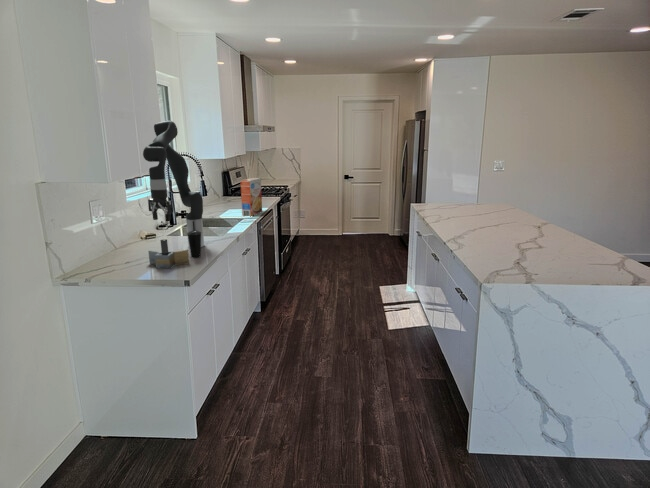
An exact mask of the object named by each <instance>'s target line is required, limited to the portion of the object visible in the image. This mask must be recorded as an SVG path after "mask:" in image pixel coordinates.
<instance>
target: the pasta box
mask: <svg viewBox="0 0 650 488" xmlns="http://www.w3.org/2000/svg"><path fill="white" fill-rule="evenodd" d="M240 194H241V195H240V196H241V198H240V199H241V216H250V217H249V218H252V217H251V216H253V215H255V216H257V215H259V214H261V213H260V212H262V213H263V200H262V199H263V197H262V178H261V177H250V178H247V179H246V178H244V179H242V180H240ZM258 213H259V214H258ZM256 214H257V215H256ZM253 217H254V216H253Z"/></svg>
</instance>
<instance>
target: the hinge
mask: <svg viewBox="0 0 650 488" xmlns="http://www.w3.org/2000/svg"><path fill="white" fill-rule="evenodd" d="M147 252H148V259H149V260H148V261H149V265H155V266H156V267H155V268H156V269H167V270H169V269H172V268H173V267H174V266H177V265H179V266H180V265H184V264H189V263H190V255H189V249H185V250H184V249H183V250H177V251H169V250H168V255H162V251H156V250H148V251H147Z"/></svg>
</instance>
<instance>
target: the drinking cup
mask: <svg viewBox="0 0 650 488" xmlns="http://www.w3.org/2000/svg"><path fill="white" fill-rule="evenodd" d="M186 235H187V241H188V240H189V245H190V247H189V250H190V255H191V258H192V259H194V258H195V259H197V258H200V257H201V253H202V251H201V250H202V249H201V248H202V247H201V232H199V231H196V230H195V228H194V221H193V231H190V232H188V233H187V232H186Z"/></svg>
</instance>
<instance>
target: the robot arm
mask: <svg viewBox="0 0 650 488" xmlns="http://www.w3.org/2000/svg"><path fill="white" fill-rule="evenodd" d="M153 129H154V130H153V131H154V134H155V136H156V137H154V139H153V140H152V142H151V143H149V144H147V146H145V147H144V149H143V153H142V156H143V159H144V160H145V161H147V162H149V163H151V162H152V163H154V162H155V163H156V162H157V163H158V165H155V166H151V167H149V170H148V174H149V186H150V187H149V188H150V196H151V198H150V199H148V200H147V203H148V204H147V205H148V211H149V212H151V213H152V220H153V221H157V220H158V219H159V218H158V210H159V209H160V210H162V211H163V212H164V214H165V217H164V218H165V222H171V214H172V213H174V207H173V201H172V200H168V199H167V198H168V189H167V186H168V185H167V181H166V174H165V173H166V171H165V167H166V162H167V163H168V166H169V169H170V172H171V174H172V176H173V178H174V181H175V183H176V187H177V189H178V193H179V197H180V200H181V203H182V205H184V206H185V207H187V208H190V212H188V213H186V214H185V221H186V222H185V223H186V234H187V233H188V232H190V231H193V221H194V228H195V230H196V231H199V232H201V248H203V247H205V239H204V238H205V235H204V225H203V213H204V203H203V202H204V200H203V196H202V194H201V193H200V192H198V191H197V192H196V191H191V189H190V186H189V183H188V179H189V178H188V177H189V174H190V173H189V171H190V170H189V167H188V164H187V162H186V159H185V158H184V156H183V155H181V154H180V153H179V152H177V150H175V149H174V148H173V147H172V146H171V145H170V143H171V142H172V141H173V140H174V139H175V138H176V137H177V136H178V132H179V131H178V127H177V125H176V123H175V122H174V121H172V120H165V121H161V122H156V123H155V124H154V125H153ZM187 245H188V248H190V245H189V240H188V239H187Z"/></svg>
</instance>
